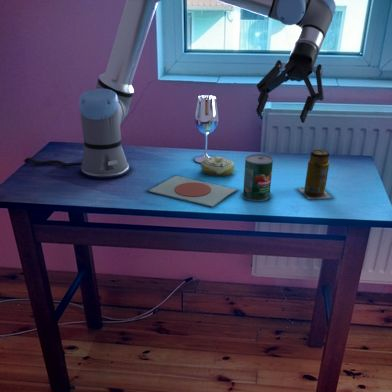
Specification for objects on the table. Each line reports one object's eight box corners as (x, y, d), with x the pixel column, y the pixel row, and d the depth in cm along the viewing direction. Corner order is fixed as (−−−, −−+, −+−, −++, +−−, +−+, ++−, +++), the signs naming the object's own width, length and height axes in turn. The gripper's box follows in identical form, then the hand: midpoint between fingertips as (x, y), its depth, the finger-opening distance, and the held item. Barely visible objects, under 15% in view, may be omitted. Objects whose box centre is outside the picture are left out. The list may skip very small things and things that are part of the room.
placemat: (148, 191, 159) (148, 189, 159) (175, 176, 169) (175, 174, 169) (212, 207, 150) (212, 205, 150) (236, 190, 161) (236, 188, 160)
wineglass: (203, 165, 178) (204, 101, 166) (189, 159, 183) (189, 96, 171) (221, 161, 182) (224, 97, 170) (207, 155, 187) (209, 93, 174)
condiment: (321, 188, 163) (327, 147, 155) (331, 198, 156) (338, 157, 149) (298, 189, 162) (303, 149, 154) (308, 200, 155) (313, 158, 148)
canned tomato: (263, 203, 153) (267, 164, 146) (238, 198, 156) (240, 160, 149) (273, 194, 158) (277, 156, 152) (248, 189, 161) (251, 152, 155)
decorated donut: (222, 180, 167) (222, 168, 165) (194, 173, 172) (194, 161, 170) (239, 170, 174) (240, 159, 172) (212, 164, 179) (212, 152, 177)
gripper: (349, 63, 152) (323, 130, 151) (269, 55, 162) (244, 118, 161) (346, 44, 145) (318, 114, 144) (263, 37, 156) (237, 102, 155)
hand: (279, 116), depth 153 cm, fingers open, 13 cm apart
